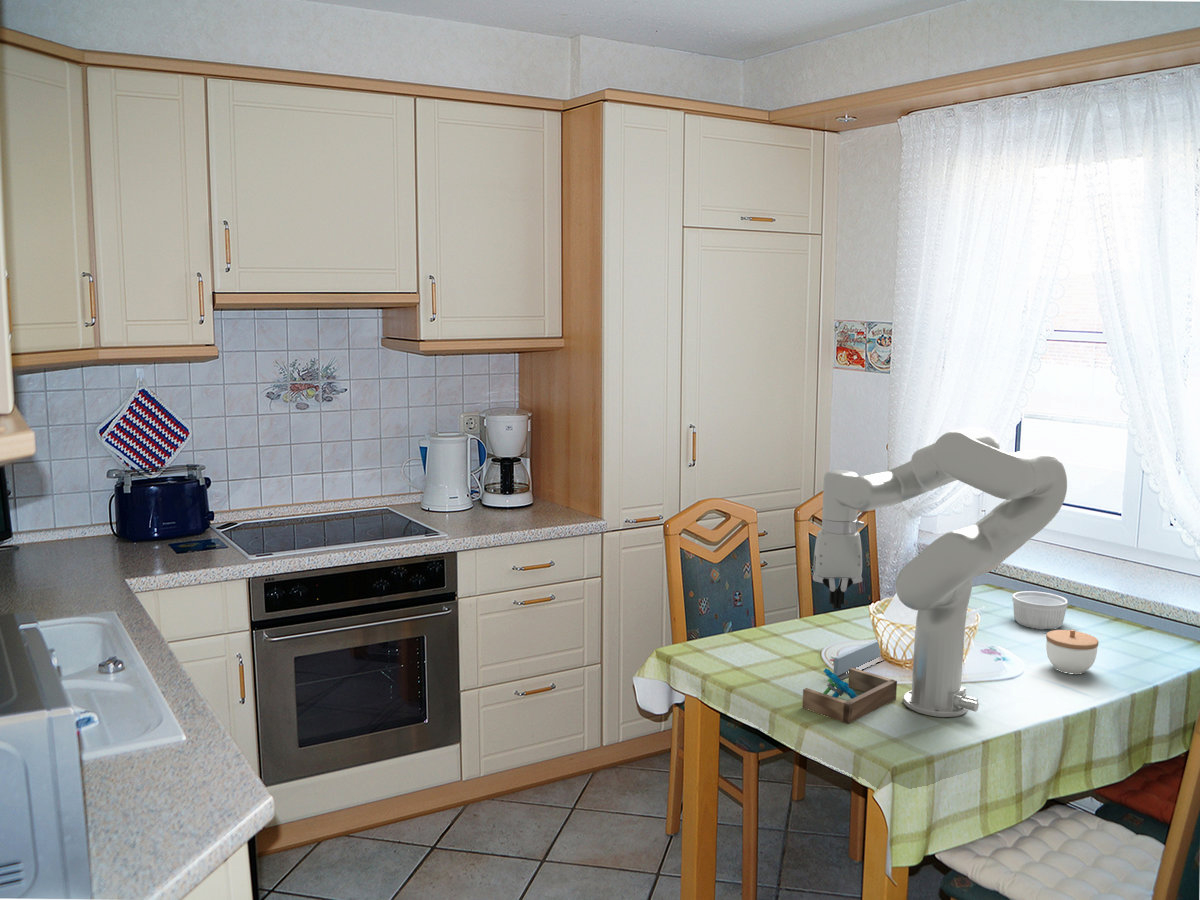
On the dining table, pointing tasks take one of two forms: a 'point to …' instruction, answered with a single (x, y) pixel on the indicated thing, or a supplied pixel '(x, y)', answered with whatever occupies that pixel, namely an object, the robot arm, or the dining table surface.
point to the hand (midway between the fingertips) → (836, 607)
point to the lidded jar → (1071, 650)
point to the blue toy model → (838, 686)
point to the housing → (874, 697)
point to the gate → (856, 657)
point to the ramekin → (1039, 609)
